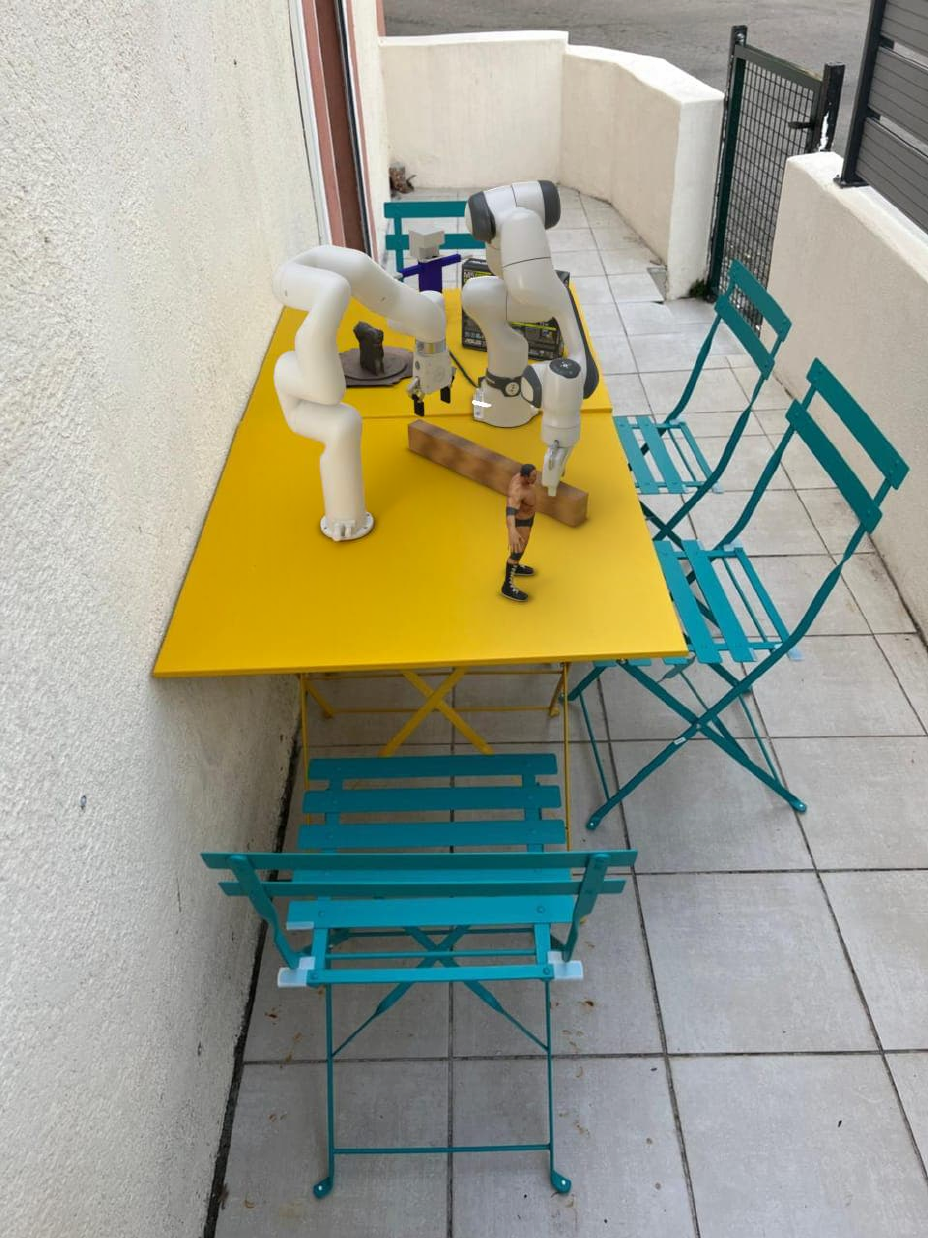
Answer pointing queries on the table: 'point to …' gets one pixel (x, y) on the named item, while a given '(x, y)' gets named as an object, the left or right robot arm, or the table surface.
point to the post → (493, 470)
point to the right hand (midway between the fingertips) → (556, 484)
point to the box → (539, 336)
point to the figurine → (519, 526)
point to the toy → (428, 258)
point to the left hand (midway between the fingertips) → (432, 408)
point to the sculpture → (374, 359)
